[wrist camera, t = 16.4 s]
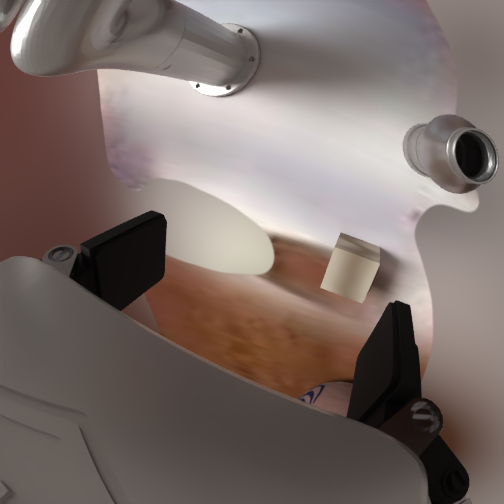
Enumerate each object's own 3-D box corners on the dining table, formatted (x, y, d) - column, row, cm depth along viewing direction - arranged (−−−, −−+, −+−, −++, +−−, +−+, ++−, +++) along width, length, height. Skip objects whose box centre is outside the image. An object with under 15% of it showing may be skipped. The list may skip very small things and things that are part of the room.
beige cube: (328, 268, 41) (320, 287, 36) (340, 232, 38) (334, 246, 33) (366, 283, 39) (364, 304, 34) (381, 247, 36) (381, 264, 31)
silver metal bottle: (423, 115, 28) (472, 84, 11) (456, 155, 27) (529, 170, 11) (390, 145, 31) (411, 143, 14) (423, 185, 31) (471, 227, 14)
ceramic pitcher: (394, 412, 45) (374, 521, 24) (308, 427, 56) (267, 515, 35) (367, 356, 43) (337, 487, 22) (271, 379, 54) (212, 476, 33)
